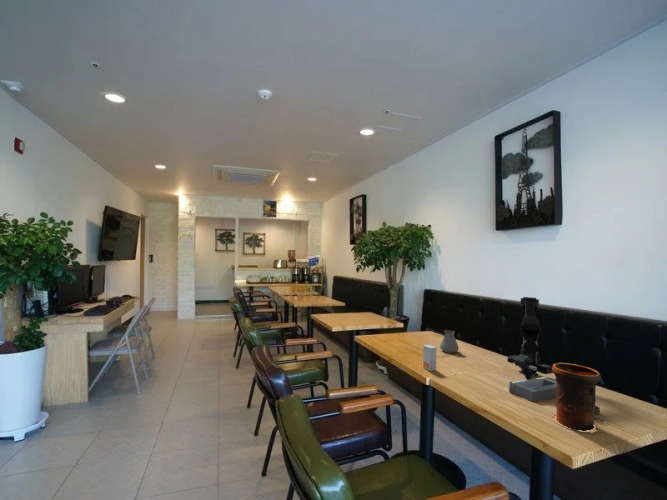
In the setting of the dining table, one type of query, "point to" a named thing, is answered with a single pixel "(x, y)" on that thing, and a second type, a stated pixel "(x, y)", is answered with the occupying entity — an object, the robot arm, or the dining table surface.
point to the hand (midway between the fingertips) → (528, 382)
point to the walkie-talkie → (597, 410)
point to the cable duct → (537, 391)
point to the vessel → (575, 395)
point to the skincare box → (429, 357)
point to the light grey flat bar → (527, 383)
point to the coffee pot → (448, 341)
